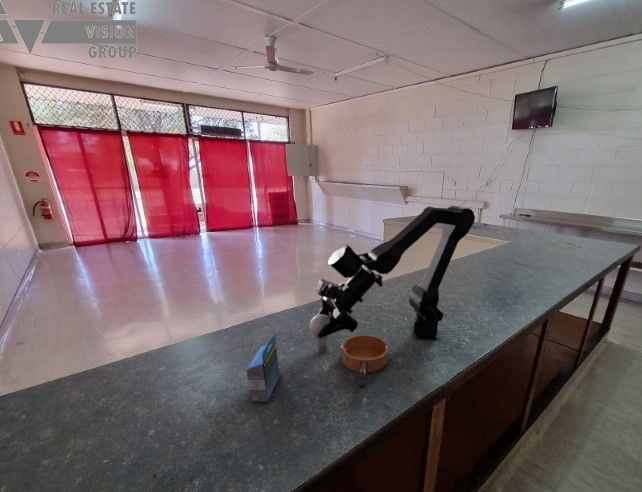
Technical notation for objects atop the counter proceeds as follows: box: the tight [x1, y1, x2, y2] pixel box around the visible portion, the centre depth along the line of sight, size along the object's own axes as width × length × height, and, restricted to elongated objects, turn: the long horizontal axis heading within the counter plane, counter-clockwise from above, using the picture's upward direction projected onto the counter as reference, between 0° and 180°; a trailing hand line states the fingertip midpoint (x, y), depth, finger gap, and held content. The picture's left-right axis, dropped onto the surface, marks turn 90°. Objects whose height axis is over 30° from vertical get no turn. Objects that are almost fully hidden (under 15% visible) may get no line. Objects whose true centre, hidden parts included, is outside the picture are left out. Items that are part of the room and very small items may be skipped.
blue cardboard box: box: [246, 332, 280, 403], centre depth 70 cm, size 9×4×12 cm, turn 178°
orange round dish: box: [341, 334, 390, 374], centre depth 83 cm, size 12×12×4 cm
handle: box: [357, 361, 368, 389], centre depth 73 cm, size 2×9×2 cm, turn 178°
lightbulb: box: [309, 314, 331, 353], centre depth 85 cm, size 6×6×11 cm
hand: (316, 330), depth 84 cm, fingers closed on lightbulb, 6 cm apart
